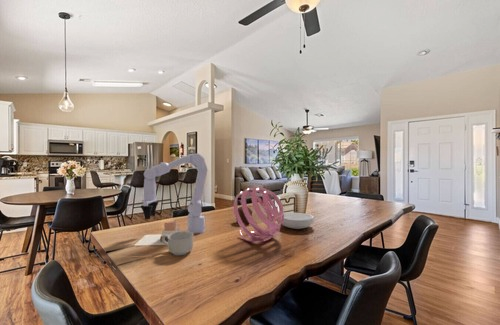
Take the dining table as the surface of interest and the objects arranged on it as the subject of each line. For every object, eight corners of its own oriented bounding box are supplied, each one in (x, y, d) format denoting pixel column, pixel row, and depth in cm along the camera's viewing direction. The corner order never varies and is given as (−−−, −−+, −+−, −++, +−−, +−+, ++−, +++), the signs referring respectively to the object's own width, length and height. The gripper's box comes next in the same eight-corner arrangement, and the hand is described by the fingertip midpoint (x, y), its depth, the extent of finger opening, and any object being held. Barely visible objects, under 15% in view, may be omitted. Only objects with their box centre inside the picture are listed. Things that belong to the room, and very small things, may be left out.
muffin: (245, 225, 148) (245, 209, 147) (231, 223, 154) (231, 207, 153) (255, 221, 157) (255, 206, 157) (242, 219, 164) (242, 204, 163)
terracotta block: (175, 227, 124) (175, 220, 124) (173, 230, 119) (173, 222, 119) (166, 228, 123) (166, 220, 123) (164, 230, 119) (164, 222, 119)
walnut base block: (180, 236, 126) (180, 231, 126) (177, 241, 118) (177, 236, 118) (164, 236, 125) (164, 231, 125) (160, 241, 117) (160, 236, 117)
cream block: (179, 231, 125) (179, 227, 125) (176, 236, 118) (176, 231, 118) (165, 232, 124) (165, 227, 124) (161, 236, 117) (161, 231, 117)
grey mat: (183, 234, 130) (183, 233, 130) (177, 245, 114) (177, 244, 114) (145, 235, 128) (145, 234, 128) (133, 246, 112) (133, 245, 112)
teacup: (198, 250, 108) (198, 232, 108) (183, 259, 98) (183, 240, 97) (172, 246, 112) (172, 229, 112) (156, 255, 102) (156, 236, 102)
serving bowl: (318, 225, 149) (318, 214, 148) (306, 234, 131) (306, 222, 131) (286, 221, 160) (287, 210, 160) (272, 228, 142) (272, 217, 142)
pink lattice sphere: (213, 199, 127) (249, 172, 114) (248, 205, 147) (282, 182, 134) (226, 252, 112) (268, 227, 100) (262, 250, 132) (302, 229, 120)
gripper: (146, 189, 132) (146, 214, 132) (136, 193, 118) (137, 220, 118) (159, 189, 133) (159, 213, 133) (151, 193, 119) (151, 220, 119)
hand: (150, 217), depth 126 cm, fingers open, 7 cm apart
